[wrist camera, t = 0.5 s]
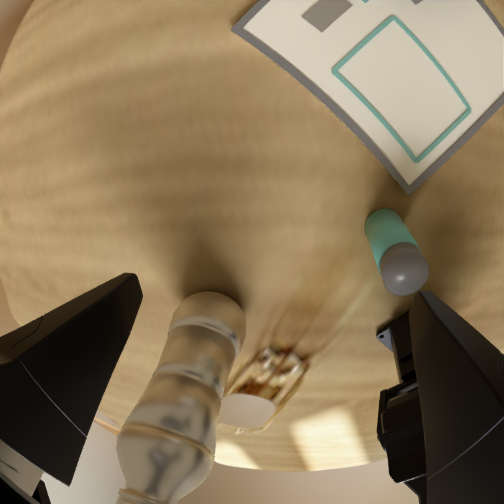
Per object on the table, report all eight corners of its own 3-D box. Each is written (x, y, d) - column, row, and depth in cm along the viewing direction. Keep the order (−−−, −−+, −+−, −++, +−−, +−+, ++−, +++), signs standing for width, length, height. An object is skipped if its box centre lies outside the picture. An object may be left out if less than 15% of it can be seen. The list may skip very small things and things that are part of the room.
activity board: (525, 72, 11) (548, 76, 8) (405, 192, 19) (419, 208, 16) (380, -85, 7) (389, -102, 4) (232, 31, 15) (221, 22, 12)
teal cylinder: (408, 227, 20) (437, 275, 15) (379, 251, 21) (399, 304, 16) (386, 200, 19) (414, 244, 14) (356, 226, 21) (373, 276, 15)
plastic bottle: (260, 328, 28) (216, 541, 11) (198, 335, 30) (134, 517, 13) (235, 275, 25) (157, 529, 8) (169, 288, 27) (70, 490, 10)
